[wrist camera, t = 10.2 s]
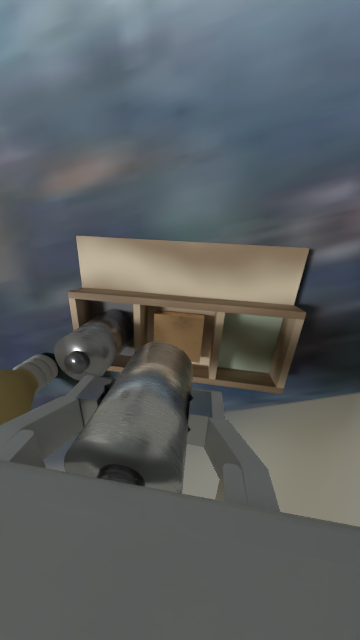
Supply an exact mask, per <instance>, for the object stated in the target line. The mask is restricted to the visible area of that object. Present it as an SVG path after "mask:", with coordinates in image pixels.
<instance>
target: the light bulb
mask: <svg viewBox="0 0 360 640" xmlns="http://www.w3.org/2000/svg"><path fill="white" fill-rule="evenodd" d="M57 374H58V367H57V364H56V362H55V361H54V360H53V359H52V358H50V357H48V356H46V355H35V356H33V357H31V358H30V359H28V360H26V361H24V362H23V363H22V364H19V365H18V366H16V367H15V368H14V369H13V370H0V425H2V424H4V423H6V422H8V421H10V420H12V419H14V418H16V417H19V416H21V415H23V414H25V413H27V412H29V410H30V408H31V405H32V402H33V399H34V393H35V392H38V391H40V390H41V389H42V388H43V387H44V386H46V385H47V384H48V383H49V382H50V381H52V380H53V379H54V378H55V377H56V376H57Z"/></svg>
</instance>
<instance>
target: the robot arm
mask: <svg viewBox="0 0 360 640" xmlns="http://www.w3.org/2000/svg"><path fill="white" fill-rule="evenodd" d="M115 381H116V380H115V379H114V378H107V377H101V376H93V375H86V376H84V377H83V378H82V379H81V380H80V381H79V382H78V383H77V384H76V386H75V387H74V388H73V389H72V390H71V391H70V392H69V393H68V394H67V395H66V396H65V397H64V396H61V397H59V398H57V399H55V400H53V401H51V402H49V403H46V404H44V405H42V406H40V407H38V408H36V409H34V410H31V411H29V412H27V413H25V414H23V415H21V416H19V417H16V418H14V419H12V420H10V421H8V422H6V423H4V424H2V425H0V640H360V527H358V526H352V525H347V524H342V523H337V522H331V521H326V520H320V519H315V518H310V517H304V516H299V515H293V514H288V513H283V512H280V509H279V506H278V503H277V499H276V496H275V492H274V489H273V485H272V482H271V478H270V475H269V472H268V469H267V468H266V466H265V465H264V464H263V463H262V461H261V460H260V459H259V458H258V456H257V455H256V454H255V453H254V451H253V450H252V449H251V448H250V447H249V445H248V444H247V443H246V442H245V441H244V439H243V438H242V437H241V436H240V434H239V433H238V432H237V431H236V429H235V428H234V427H233V426H232V425H231V423H230V422H229V421H228V420H225V416H224V408H223V400H222V393H221V392H216V391H206V390H198V389H191V396H190V406H189V416H188V435H187V444H191V445H197V446H202V447H204V448H205V450H206V452H207V454H208V456H209V459H210V461H211V463H212V465H213V467H214V469H215V471H216V473H217V475H218V477H219V479H220V480H219V485H218V490H217V494H216V498H215V500H213V499H208V498H203V497H197V496H192V495H186V494H181V493H176V492H170V491H165V490H160V489H154V488H149V487H143V486H138V485H133V484H127V483H122V482H117V481H111V480H106V479H100V478H95V477H90V476H84V475H79V474H74V473H68V472H63V471H57V470H52V469H47V468H46V467H45V464H44V461H43V460H44V459H45V458H46V457H48V456H49V455H50V454H52V453H53V452H54V451H56V450H57V449H58V448H60V447H61V446H62V445H63V444H65V443H66V442H67V441H69V440H70V439H71V438H72V437H74V436H75V435H77V434H78V433H79V432H80V431H82V429H83V428H84V426H85V425H86V423H87V422H88V420H89V419H90V417H91V416H92V414H93V413H94V412H95V410H96V409H97V407H98V406H99V404H100V403H101V401H102V400H103V398H104V397H105V395H106V394H107V393H108V391H109V390H110V388H111V387H112V385H113V384H114V382H115Z"/></svg>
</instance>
